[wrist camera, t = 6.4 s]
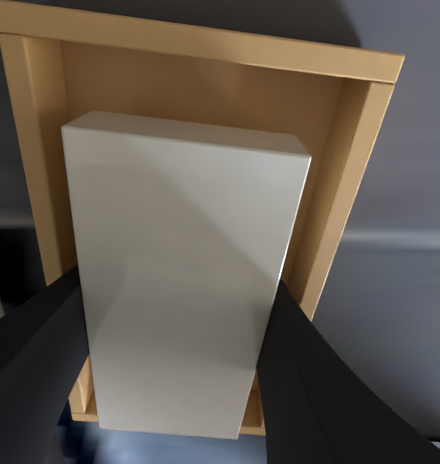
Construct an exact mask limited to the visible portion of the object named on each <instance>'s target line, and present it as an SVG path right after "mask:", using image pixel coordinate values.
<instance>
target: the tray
mask: <svg viewBox="0 0 440 464" xmlns="http://www.w3.org/2000/svg"><path fill="white" fill-rule="evenodd" d="M0 32H1V33H0V48H1V53H2V59H3V64H4V69H5V74H6V79H7V84H8V89H9V95H10V100H11V105H12V110H13V115H14V120H15V125H16V131H17V136H18V141H19V146H20V151H21V156H22V161H23V167H24V172H25V177H26V182H27V187H28V192H29V197H30V203H31V208H32V213H33V218H34V223H35V228H36V233H37V239H38V244H39V249H40V254H41V259H42V264H43V269H44V275H45V280H46V285H47V286H49V285H50V284H51V283H53V282H54V281H55V280H57V279H58V278H59V277H61V276H62V275H63V274H65V273H66V272H67V271H69V270H70V269H71V268H73V267H74V266H75V265H77V264H78V259H77V251H76V244H75V236H74V228H73V220H72V212H71V204H70V196H69V188H68V180H67V173H66V165H65V157H64V149H63V141H62V133H61V127H62V126H63V125H65V124H67V123H69V122H70V121H72V120H74V119H76V118H78V117H80V116H82V115H84V114H86V113H87V112H89V111H92V110H96V111H104V112H112V113H120V114H128V115H136V116H145V117H153V118H161V119H169V120H177V121H185V122H194V123H202V124H210V125H218V126H226V127H234V128H243V129H251V130H259V131H267V132H275V133H283V134H292V135H296V136H297V137H298V139H299V140H300V141H301V143H302V144H303V145H304V147H305V148H306V150H307V151H308V152H309V154H310V155H311V158H312V159H311V163H310V166H309V170H308V174H307V178H306V181H305V185H304V189H303V193H302V197H301V200H300V204H299V208H298V212H297V216H296V219H295V223H294V227H293V231H292V235H291V238H290V242H289V246H288V250H287V254H286V257H285V261H284V265H283V269H282V273H281V276H280V279H282V281H283V282H284V283H285V285H286V286H287V288H288V289H289V291H290V293H291V294H292V296H293V297H294V299H295V300H296V301H297V303H298V304H299V306H300V307H301V309H302V310H303V312H304V313H305V314H306V316H307V317H308V319H309V320H310V321H312V318H313V315H314V312H315V310H316V307H317V304H318V301H319V298H320V295H321V293H322V290H323V287H324V284H325V281H326V278H327V276H328V273H329V270H330V267H331V264H332V262H333V259H334V256H335V253H336V250H337V247H338V245H339V242H340V239H341V236H342V233H343V231H344V228H345V225H346V222H347V219H348V216H349V214H350V211H351V208H352V205H353V202H354V200H355V197H356V194H357V191H358V188H359V185H360V183H361V180H362V177H363V174H364V171H365V169H366V166H367V163H368V160H369V157H370V154H371V152H372V149H373V146H374V143H375V140H376V138H377V135H378V132H379V129H380V126H381V123H382V121H383V118H384V115H385V112H386V109H387V107H388V104H389V101H390V98H391V95H392V92H393V90H394V86H395V85H394V84H393V83H395V82H396V81H397V78H398V75H399V72H400V70H401V67H402V64H403V61H404V58H405V55H404V54H401V53H393V52H386V51H379V50H371V49H364V48H357V47H349V46H342V45H335V44H327V43H320V42H312V41H305V40H298V39H290V38H283V37H276V36H268V35H261V34H254V33H246V32H239V31H231V30H224V29H217V28H209V27H202V26H195V25H187V24H180V23H173V22H165V21H158V20H151V19H143V18H136V17H128V16H121V15H114V14H106V13H99V12H92V11H84V10H77V9H70V8H62V7H55V6H48V5H40V4H33V3H25V2H18V1H11V0H0ZM68 398H69V403H70V408H71V414H72V419H73V420H77V421H90V422H98V417H97V409H96V401H95V394H94V386H93V378H92V370H91V362H90V354H89V355H88V357H87V359H86V362H85V364H84V366H83V368H82V370H81V372H80V374H79V376H78V378H77V380H76V383H75V385H74V387H73V389H72V391H71V393H70V395H69V397H68ZM239 434H251V435H264V436H266V434H265V425H264V416H263V410H262V403H261V396H260V390H259V383H258V376H257V370H256V371H255V375H254V379H253V383H252V386H251V390H250V394H249V398H248V401H247V405H246V409H245V413H244V417H243V420H242V424H241V428H240V432H239Z"/></svg>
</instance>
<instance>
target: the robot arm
mask: <svg viewBox="0 0 440 464" xmlns="http://www.w3.org/2000/svg"><path fill="white" fill-rule="evenodd" d="M88 355H89V346H88V338H87V330H86V322H85V315H84V307H83V299H82V291H81V283H80V275H79V267H78V264H77V265H75V266H74V267H73V268H71V269H70V270H69V271H67V272H66V273H65V274H63V275H62V276H61V277H59V278H58V279H57V280H55V281H54V282H53V283H51V284H50V285H49V286H47V287H46V288H44V289H43V290H42V291H40V292H39V293H37V294H36V295H35V296H33V297H32V298H30V299H29V300H27V301H26V302H24V303H23V304H21V305H20V306H18V307H17V308H15V309H14V310H12V311H11V312H9V313H8V314H6V315H5V316H3V317H2V318H0V464H43V462H44V459H45V456H46V453H47V451H48V448H49V445H50V442H51V440H52V437H53V434H54V432H55V429H56V426H57V423H58V421H59V418H60V415H61V413H62V411H63V408H64V406H65V404H66V401H67V399H68V397H69V395H70V393H71V391H72V389H73V387H74V385H75V383H76V380H77V378H78V376H79V374H80V372H81V370H82V368H83V366H84V364H85V362H86V359H87V357H88ZM256 370H257V376H258V383H259V390H260V396H261V403H262V410H263V416H264V425H265V434H266V452H267V464H440V442H434V441H429V440H428V439H427V438H426V437H424V436H423V435H422V434H421V433H419V432H418V431H417V430H416V429H415V428H413V427H412V426H411V425H410V424H409V423H407V422H406V421H405V420H404V419H403V418H401V417H400V416H399V415H398V414H397V413H396V412H394V411H393V410H392V409H391V408H390V407H389V406H388V405H387V404H386V403H385V402H384V401H382V400H381V399H380V398H379V397H378V396H377V395H376V394H375V393H374V392H373V391H372V390H371V389H370V388H368V387H367V386H366V385H365V384H364V383H363V382H362V381H361V380H360V379H359V378H358V377H357V375H356V374H355V373H354V372H353V371H352V370H351V369H350V368H349V367H348V366H347V365H346V364H345V363H344V362H343V361H342V360H341V359H340V357H339V356H338V355H337V354H336V353H335V352H334V350H333V349H332V348H331V347H330V346H329V344H328V343H327V342H326V341H325V340H324V338H323V337H322V336H321V334H320V333H319V332H318V331H317V329H316V328H315V327H314V325H313V324H312V323H311V321H310V320H309V319H308V317H307V316H306V314H305V313H304V312H303V310H302V309H301V307H300V306H299V304H298V303H297V301H296V300H295V299H294V297H293V296H292V294H291V293H290V291H289V289H288V288H287V286H286V285H285V283H284V282H283V281H282V279H280V280H279V284H278V288H277V291H276V295H275V299H274V303H273V307H272V310H271V314H270V318H269V322H268V326H267V329H266V333H265V337H264V341H263V345H262V348H261V352H260V356H259V360H258V364H257V367H256Z"/></svg>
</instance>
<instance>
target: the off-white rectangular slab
mask: <svg viewBox="0 0 440 464" xmlns="http://www.w3.org/2000/svg"><path fill="white" fill-rule="evenodd" d="M61 133H62V141H63V149H64V157H65V165H66V173H67V180H68V188H69V196H70V204H71V212H72V220H73V228H74V236H75V244H76V251H77V259H78V267H79V275H80V283H81V291H82V299H83V307H84V315H85V322H86V330H87V338H88V346H89V354H90V362H91V370H92V378H93V386H94V394H95V401H96V409H97V417H98V425H99V428H100V429H111V430H123V431H136V432H148V433H161V434H174V435H186V436H199V437H211V438H224V439H238V436H239V432H240V428H241V424H242V420H243V417H244V413H245V409H246V405H247V401H248V398H249V394H250V390H251V386H252V383H253V379H254V375H255V371H256V367H257V364H258V360H259V356H260V352H261V348H262V345H263V341H264V337H265V333H266V329H267V326H268V322H269V318H270V314H271V310H272V307H273V303H274V299H275V295H276V291H277V288H278V284H279V280H280V276H281V273H282V269H283V265H284V261H285V257H286V254H287V250H288V246H289V242H290V238H291V235H292V231H293V227H294V223H295V219H296V216H297V212H298V208H299V204H300V200H301V197H302V193H303V189H304V185H305V181H306V178H307V174H308V170H309V166H310V163H311V159H312V158H311V155H310V154H309V152H308V151H307V150H306V148H305V147H304V145H303V144H302V143H301V141H300V140H299V139H298V137H297V136H296V135H292V134H283V133H275V132H267V131H259V130H251V129H243V128H234V127H226V126H218V125H210V124H202V123H194V122H185V121H177V120H169V119H161V118H153V117H145V116H136V115H128V114H120V113H112V112H104V111H96V110H92V111H89V112H87V113H86V114H84V115H82V116H80V117H78V118H76V119H74V120H72V121H70V122H69V123H67V124H65V125H63V126H62V127H61Z"/></svg>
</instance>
